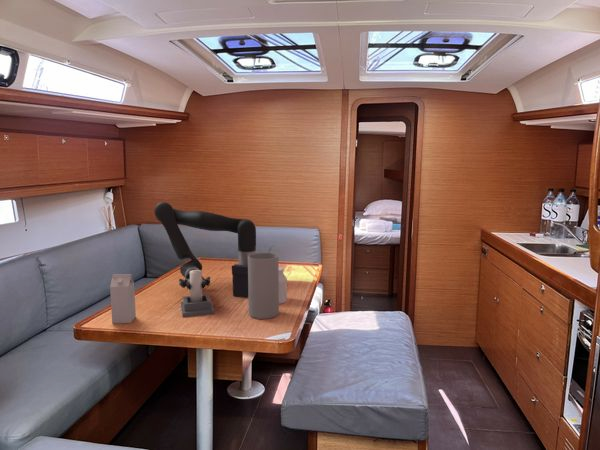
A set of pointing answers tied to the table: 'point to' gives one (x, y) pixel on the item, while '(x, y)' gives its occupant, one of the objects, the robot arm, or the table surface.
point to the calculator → (240, 280)
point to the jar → (282, 286)
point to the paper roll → (196, 286)
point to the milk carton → (122, 298)
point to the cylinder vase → (263, 285)
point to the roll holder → (197, 307)
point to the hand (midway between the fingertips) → (196, 286)
